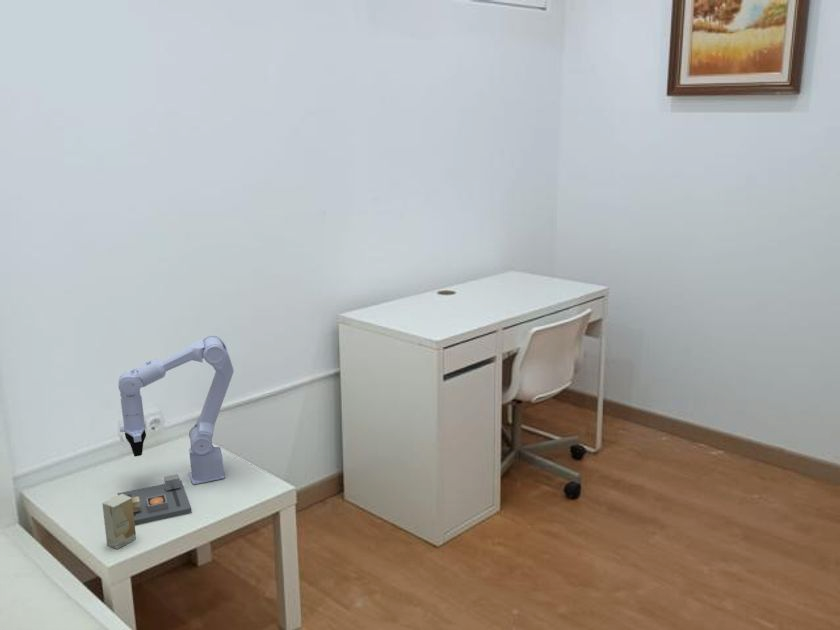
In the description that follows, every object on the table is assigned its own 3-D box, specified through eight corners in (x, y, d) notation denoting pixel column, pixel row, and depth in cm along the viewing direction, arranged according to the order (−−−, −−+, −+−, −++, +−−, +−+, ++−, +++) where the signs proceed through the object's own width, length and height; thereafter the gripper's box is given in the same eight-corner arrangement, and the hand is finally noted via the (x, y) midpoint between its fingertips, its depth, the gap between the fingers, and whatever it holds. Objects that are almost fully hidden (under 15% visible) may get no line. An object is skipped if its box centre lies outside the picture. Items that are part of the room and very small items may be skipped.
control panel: (181, 484, 235) (180, 474, 234) (191, 512, 219) (190, 501, 218) (118, 497, 228) (116, 487, 227) (123, 527, 212) (122, 516, 211)
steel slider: (178, 483, 232) (177, 473, 231) (180, 487, 229) (179, 478, 228) (164, 485, 230) (163, 476, 229) (166, 490, 228) (165, 481, 227)
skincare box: (117, 550, 202) (111, 507, 198) (106, 545, 204) (100, 503, 201) (137, 538, 207) (132, 496, 204) (127, 533, 209) (121, 492, 206)
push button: (163, 501, 222) (162, 496, 222) (164, 507, 219) (164, 501, 218) (149, 503, 221) (149, 498, 220) (151, 509, 217) (150, 504, 217)
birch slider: (139, 505, 219) (138, 496, 218) (140, 510, 217) (139, 501, 216) (124, 509, 218) (123, 499, 217) (125, 514, 215) (124, 504, 214)
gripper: (116, 406, 232) (121, 447, 236) (120, 424, 219) (125, 468, 223) (141, 402, 235) (145, 443, 239) (146, 419, 222) (151, 463, 226)
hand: (137, 455), depth 231 cm, fingers closed
